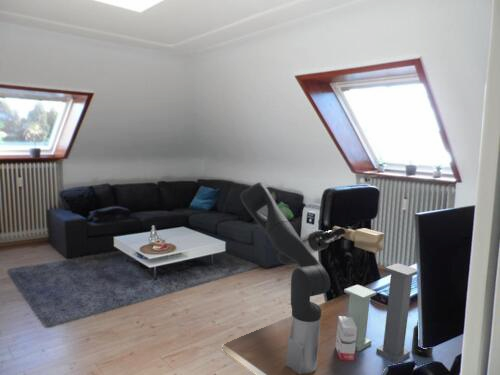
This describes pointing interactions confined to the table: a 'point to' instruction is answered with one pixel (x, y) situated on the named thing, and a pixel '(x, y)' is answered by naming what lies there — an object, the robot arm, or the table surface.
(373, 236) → the wooden leg
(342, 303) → the table surface
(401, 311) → the tall stand
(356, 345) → the low stand
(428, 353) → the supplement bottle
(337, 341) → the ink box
